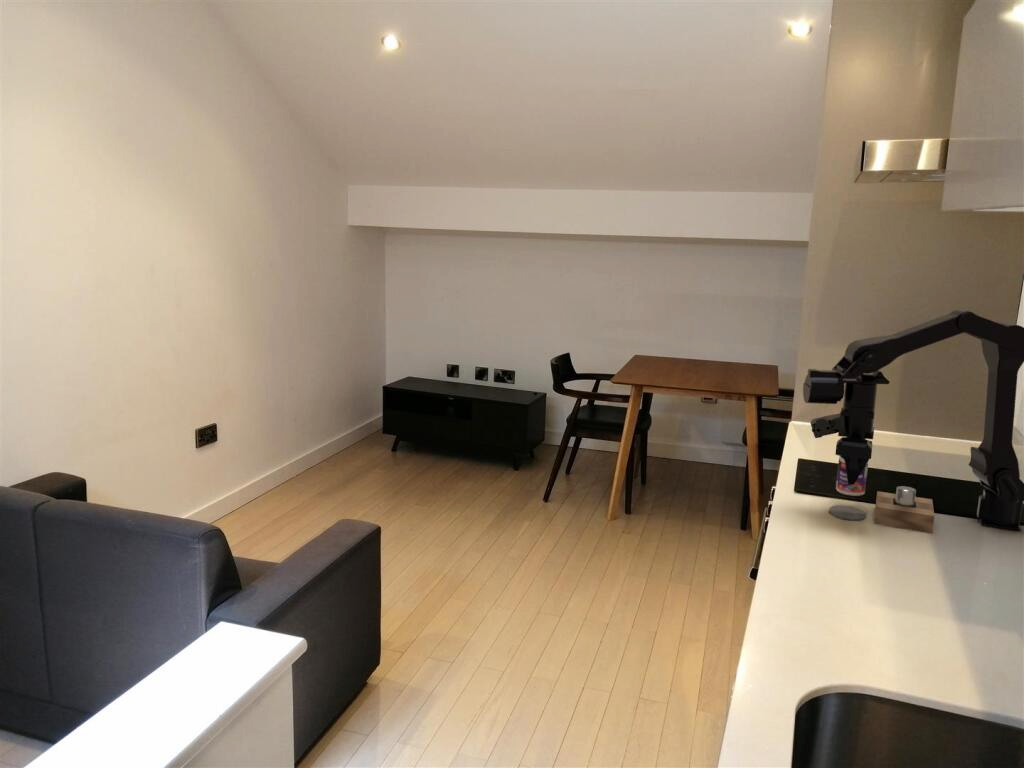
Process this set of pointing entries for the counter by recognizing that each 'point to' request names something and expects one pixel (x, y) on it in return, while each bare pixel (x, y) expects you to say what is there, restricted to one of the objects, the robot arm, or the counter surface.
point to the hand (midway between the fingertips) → (851, 479)
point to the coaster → (847, 512)
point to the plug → (905, 496)
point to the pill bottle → (842, 480)
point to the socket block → (904, 513)
